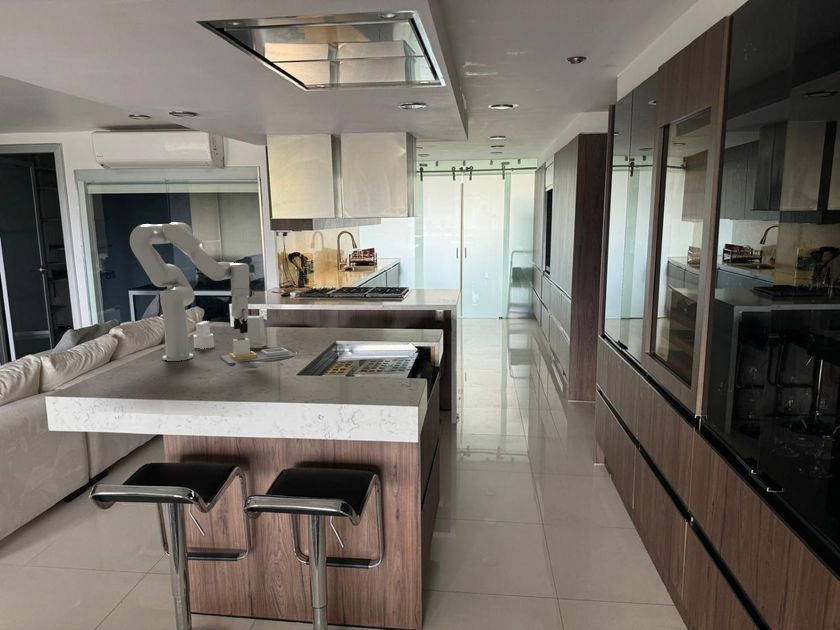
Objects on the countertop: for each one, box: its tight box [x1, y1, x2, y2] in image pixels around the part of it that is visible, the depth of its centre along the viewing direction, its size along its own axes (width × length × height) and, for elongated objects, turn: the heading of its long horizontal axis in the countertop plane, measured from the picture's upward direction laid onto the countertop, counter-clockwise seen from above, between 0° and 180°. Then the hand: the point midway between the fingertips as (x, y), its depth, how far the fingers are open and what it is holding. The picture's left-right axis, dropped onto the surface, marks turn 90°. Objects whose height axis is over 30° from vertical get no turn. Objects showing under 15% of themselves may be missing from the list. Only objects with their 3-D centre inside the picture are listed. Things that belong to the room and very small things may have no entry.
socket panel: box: [219, 347, 298, 366], centre depth 255 cm, size 16×30×2 cm, turn 122°
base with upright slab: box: [193, 320, 215, 350], centre depth 276 cm, size 9×9×12 cm
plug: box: [232, 336, 251, 356], centre depth 250 cm, size 4×6×9 cm, turn 123°
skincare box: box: [243, 315, 266, 349], centre depth 273 cm, size 8×7×16 cm
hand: (240, 330), depth 249 cm, fingers open, 9 cm apart
